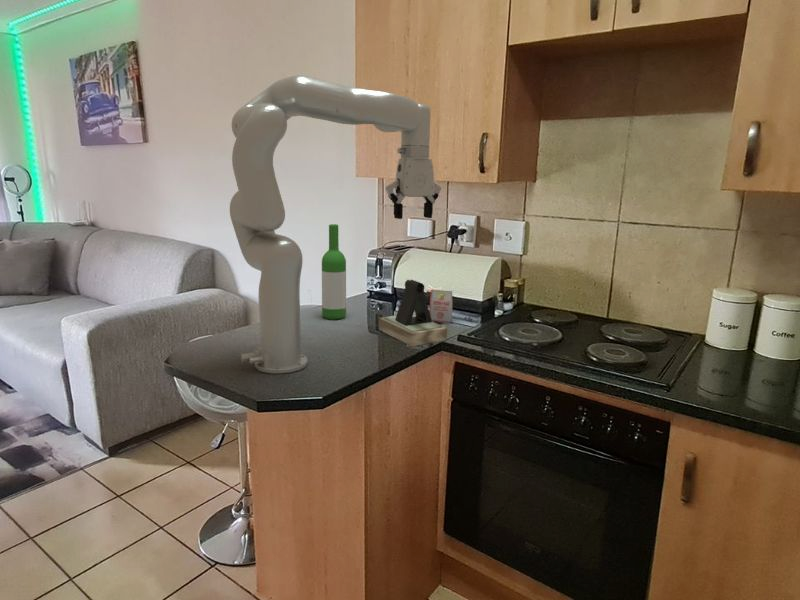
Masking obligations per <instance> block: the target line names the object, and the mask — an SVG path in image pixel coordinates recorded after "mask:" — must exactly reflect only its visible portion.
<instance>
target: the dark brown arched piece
mask: <svg viewBox="0 0 800 600" xmlns="http://www.w3.org/2000/svg"><path fill="white" fill-rule="evenodd" d="M429 310H430V308H429V306H428V303H427V298H426V294H425V284H423V283H422V282H419V281H416V280H414V279H406V281H405V282H404V291H403V295H402V298H401V301H400V303H399V307H398V310H397V314H396V315H395V316H396V318H395V320H396V321H398V322H400V323H402V324H404V325H406V326H408V325H415V324H422V323H429V322H433V321H432V319H431V316H430V312H429ZM413 314H415V315H416V316H415V317H413Z"/></svg>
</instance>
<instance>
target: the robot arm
mask: <svg viewBox="0 0 800 600" xmlns="http://www.w3.org/2000/svg"><path fill="white" fill-rule="evenodd" d="M299 116H300V117H307V118H312V119H317V120H322V121H327V122H332V123H337V124H342V125H352V126H354V125H357V126H358V125H373V126H374V128H376V129H377V130H379V131H380V132H383V133H395V132H396V133H397V132H400V133H401V139H400V140H401V141H400V142H401V143H400V147H399V148H397V154H400V158H398V161H397V162H398V163H397V168H396V174H395V181H393V182H392V183H390V184H388V185H386V186H385V190H386V194H387V197H388V198H389V200H391V203H392V204H393V216H394V219H398V220H402V219H403V213H404V212H403V209H404V204H403V200H404V199H405V198H406V197H410V198H411V197H413V198H417V197H418V198H423V199H424V201H425V202H424V204H423V218H427V219H432V218H433V214H434V213H433V209H434V208H433V206H434V205H433V204H435V202H436V200H437V199H438V197H439V194H440V192H441V190H442V187H441V186H440V185H438V184H436V182H435V177H434V176H435V174H434V173H435V172H434V166H433V160H432V158H430V144H431V143H430V142H431V141H430V137H431V107H430V106H428V105H427V104H424V103H423V104H422V103H418V102H416V101H415V100H414V99H412V98H410V97H407V96H402V95H400V94H396V93H391V92H386V91H379V90H371V89H365V88H360V87H353V86H347V85H342V84H338V83H335V82H331V81H326V80H323V79H319V78H315V77H311V76H307V75H306V76H305V75H302V74H301V75H299V74H298V75H292V76H289V77H286V78H281V79H279V80H276V81H275V82H273V83H272V84H270V85H269V86H268V87H267V88H265V89H264V90H263V91H261V92H260V93H259V94H257V95H256V96H255V97H254V98H252V99H251V100H249V101H248V102H247V103H245V104H244V105H243V106H242V107H240V108H239V109H238V110H236V111H235V113H234V115H233V117H232V119H231V131H232V133H233V134H232V135H234V137H235V141H234V144H233V148H232V154H231V156H232V157H231V163H232V169H233V175H234V178H235V182H236V186H237V190H238V191H236V192H235V193H234V195H233V196H232V198H231V199H230V203H229V217H230V220H231V225H232V227H233V230H234V232H235V235H236V240H237V242H238V245H239V248H240V253H242V257H243V259H244V260H245V262H246V263H247V265H249V266H250V267H251V268H253V269H255V270H258V271H260V278H259V279H260V280H259V283H258V285H259V286H258V313H259V314H258V315H259V316H258V317H259V334H260V335H259V338H260V346H256V350H253V352H250V353H248V352H247V353H241V354H240V361H241V363H244V362H249V364H250V365H251V364H254V368H255V369H257V370H258V371H259V372H262V373H266V374H267V373H268V374H275V375H276V374H289V373H294V372H297V371H300V370H302V369H304V368H305V367H307V366H308V357H307V356H306V355H304V354H302V343H301V342H302V340H301V339H302V337H301V303H300V302H301V300H300V299H301V297H300V292H301V291H300V289H301V288H300V286H301V275H302V270H303V261H304V260H303V253H302V250H301V248H300V247H299V245H298V243H297V242H296V241H295V240H293V239H292V238H290V237H289V236H286V235H285V236H284V235H281V234H277V233H276V230H278V229H280V228H281V227H282V225H283V224H284V222H285V219H286V210H285V206H284V202H283V198H282V195H281V192H280V188H279V185H278V182H277V176H276V172H275V169H274V168H275V167H274V155H275V152H276V149H277V147H278V145H279V143H280V142H281V140H282V139H283V138H284V136H285V135H286V132H287V129H288V121H289V119H291V118H292V117H299ZM394 190H395V193H394Z"/></svg>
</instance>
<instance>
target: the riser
mask: <svg viewBox="0 0 800 600" xmlns="http://www.w3.org/2000/svg"><path fill="white" fill-rule="evenodd" d="M415 316H416V314H415V313H413V317H415ZM395 318H396V315H391V316H390V315H389V316H383V317H379V318H378V321H379V322H378V330H379V331H381V332H383V333H385V334H387V335H388V336H390V337H393V338H394V339H397V340H398V341H401V342H403V343H404V344H406V345H408V346H410V347H415V346H420V345H427V344H432V343H438V342H442V341H447V340H448V339H447V337H448V327H445V326H443V325H441V324H438V323H436V322H435V321H432V322H429V323H422V324H415V325H408V326H406V325H404V324H402V323H400V322H398V321H396V320H395Z"/></svg>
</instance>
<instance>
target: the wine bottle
mask: <svg viewBox="0 0 800 600" xmlns="http://www.w3.org/2000/svg"><path fill="white" fill-rule="evenodd" d="M339 247H340V246H339V224H328V250H327V251H326V252H325V253H324V254H323V256H322V259H321V314H322V317H323V318H324V319H326V320H327V319H328V320H340V319H344V318H345V317H346V316H347V260H346V256H345V255H344V253H343V252H342V251H340V250H339V249H340V248H339Z"/></svg>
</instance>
